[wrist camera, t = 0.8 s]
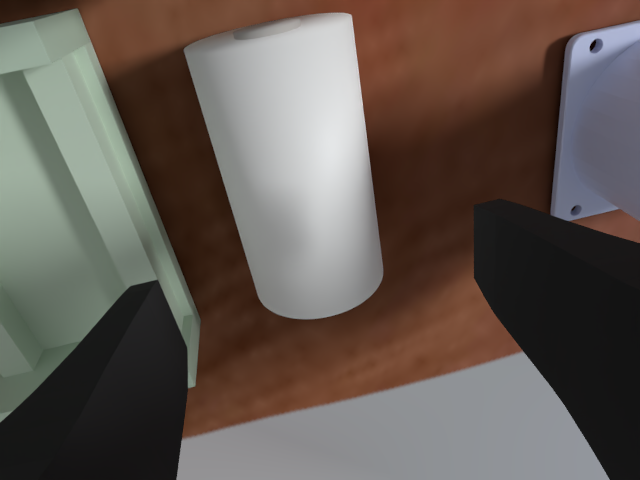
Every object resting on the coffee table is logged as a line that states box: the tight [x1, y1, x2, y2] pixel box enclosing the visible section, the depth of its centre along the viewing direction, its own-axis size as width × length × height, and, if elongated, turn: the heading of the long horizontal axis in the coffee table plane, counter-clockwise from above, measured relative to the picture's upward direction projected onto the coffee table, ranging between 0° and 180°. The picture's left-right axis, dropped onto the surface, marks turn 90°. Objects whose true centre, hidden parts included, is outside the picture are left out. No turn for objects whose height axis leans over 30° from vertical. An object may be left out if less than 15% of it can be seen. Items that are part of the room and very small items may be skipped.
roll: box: [184, 13, 383, 319], centre depth 16 cm, size 9×5×5 cm, turn 10°
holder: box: [0, 8, 201, 422], centre depth 16 cm, size 13×8×4 cm, turn 10°
